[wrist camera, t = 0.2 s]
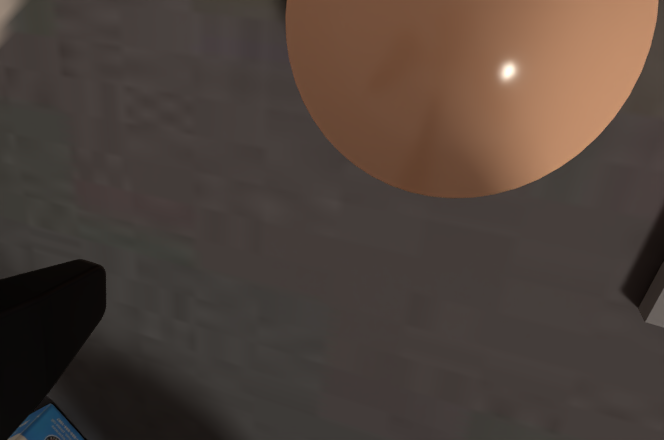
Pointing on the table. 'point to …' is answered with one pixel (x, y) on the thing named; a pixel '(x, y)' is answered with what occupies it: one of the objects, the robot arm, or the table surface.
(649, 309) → the mat
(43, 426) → the ink box
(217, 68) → the table surface
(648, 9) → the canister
